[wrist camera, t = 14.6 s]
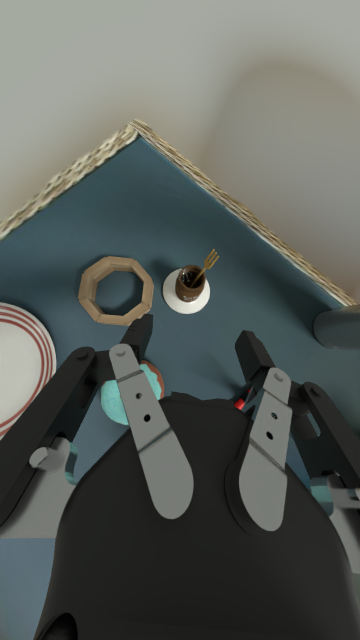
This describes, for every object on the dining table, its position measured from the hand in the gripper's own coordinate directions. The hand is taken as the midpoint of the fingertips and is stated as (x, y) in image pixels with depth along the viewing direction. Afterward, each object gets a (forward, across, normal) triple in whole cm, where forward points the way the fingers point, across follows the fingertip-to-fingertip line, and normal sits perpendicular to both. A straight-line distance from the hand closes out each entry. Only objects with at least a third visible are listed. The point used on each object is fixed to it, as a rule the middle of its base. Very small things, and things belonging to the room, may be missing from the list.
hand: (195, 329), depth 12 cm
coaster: (+21, +1, +6) cm, 21 cm away
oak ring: (+18, +15, +8) cm, 25 cm away
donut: (+5, +8, +22) cm, 24 cm away
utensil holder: (+20, 0, +6) cm, 21 cm away
